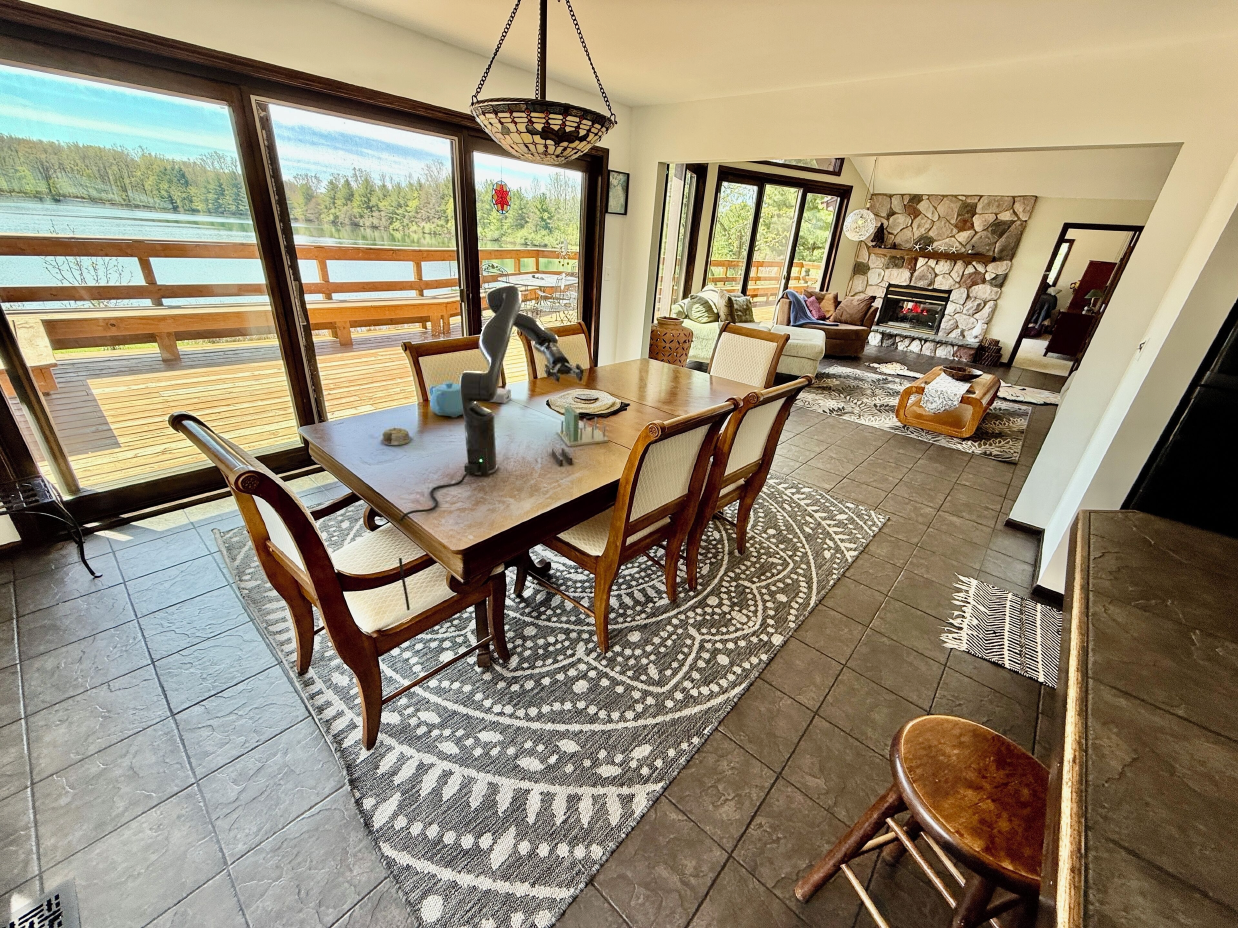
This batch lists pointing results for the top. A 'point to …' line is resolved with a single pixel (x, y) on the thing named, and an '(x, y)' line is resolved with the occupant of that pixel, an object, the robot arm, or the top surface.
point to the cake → (395, 436)
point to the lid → (571, 422)
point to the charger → (502, 395)
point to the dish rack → (584, 435)
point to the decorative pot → (446, 399)
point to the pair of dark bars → (558, 458)
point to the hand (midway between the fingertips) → (569, 379)
